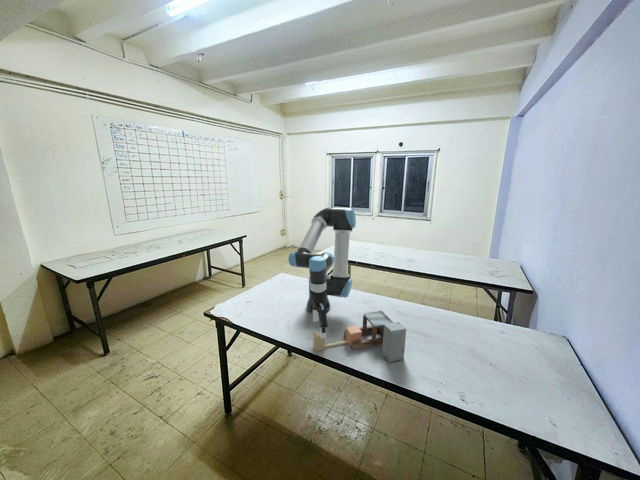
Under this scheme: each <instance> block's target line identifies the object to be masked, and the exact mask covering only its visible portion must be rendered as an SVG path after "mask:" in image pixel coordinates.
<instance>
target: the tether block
mask: <svg viewBox="0 0 640 480" xmlns="http://www.w3.org/2000/svg"><path fill="white" fill-rule="evenodd" d="M359 328H360V327H359V326H358V325H352V326H346V327H345V330H346V337H345V340H342V341H341V340H340V341H337V342H336V341H335V342H331V343H326V338H320V331H317V332H313V333H312V345H313V346H312V347H313V350H314V352H319V351H323V350H325V349H326V348H332V347H336V346H342V345H346V344H348V345H349V347H352V343H354V342H359V341H363V340H362V335H363V334H362V331H361V330H360V329H359Z"/></svg>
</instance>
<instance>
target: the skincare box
mask: <svg viewBox="0 0 640 480" xmlns="http://www.w3.org/2000/svg"><path fill="white" fill-rule="evenodd" d="M406 334H407V328H406V327H405V326H404V325H402V324H401V322H399V321H398V322H394V323H389V324H384V332H383V335H382V337H383V344H382V349H381V351H382V353H381V354H382V355H383V357H384V358H386V360H387V361H388V362H389V363H391V362H395V361H400V360H403V359H404V358H405V348H406V347H405V346H406Z"/></svg>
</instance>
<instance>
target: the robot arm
mask: <svg viewBox="0 0 640 480" xmlns="http://www.w3.org/2000/svg"><path fill="white" fill-rule="evenodd" d="M310 222H311V225H310V227H309V229H308V230H307V233H306V234H305V235H304V238H303V240H302V242H301V243H300V245H299V247H298V249H297V250H296V251H291V252H290V253H289V254H288V264H289V266H291V267H294V268H295V267H296V268H304V269H309V277H308V295H309V297H308V300H307V303H306V310H307V311H308V312H310V313H312V321H313V322H319V324H320V325H319V332H320V338H325V339H326V338H327V328H328V327H329V326H328V320H327V312H328V311H330V309H331V303H330V300H329V297H328V296H332V297H338V298H347V297H349V295H350V293H351V290H352V286H353V279H352V278H350V274H349V273H348V266H349V251H350V237H351V236H350V234H351V233H352V232H353V229H355V228H356V224H357V223H356V222H357V219H356V212H355V210H354V209H353V208H349V207H331V206H330V207H325V208H324V209H321V210H320V211H318V212H317V213H315V215H314V216H313V218H312V220H311V221H310ZM328 227H332V230H333V232H334V233H335V235H334V252H333V254H334V255H333V254H332V253H330V252H327V251H324V252H322V253H313V252H314V250H315V247H316V246H317V244H318V241H319V239H320V237H321V235H322V234H323V232H324V230H326V229H327V228H328ZM332 266H333V268H332ZM330 268H332V269H333V271H332V272H331V273H330V276H329V275H328V273H327V272H328V271H329V270H330Z"/></svg>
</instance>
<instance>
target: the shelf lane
mask: <svg viewBox="0 0 640 480" xmlns="http://www.w3.org/2000/svg"><path fill="white" fill-rule="evenodd" d="M368 322H369V324H370V325H369V326H368ZM389 323H395V322H394V321H393V320H392V319H391V318H390V317H389V316H388V315H387V314H386V313H385V312H384V311H383V310H377V311H371V312H365V313H363V315H362V327H359V329H360V330H361V331H362V335H365V334H368V333H369V334H370V333H371V338H370V339H365V340H361V341H359V342H354V343H352V346H351V350H352V351H356V350H361V349H366V348H371V347H375V346H376V347H377V346H380V345H383V332H384V324H389ZM377 332H380V335H382V336H380V337H377ZM343 337H344V338H346V329H344V330H343Z"/></svg>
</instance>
